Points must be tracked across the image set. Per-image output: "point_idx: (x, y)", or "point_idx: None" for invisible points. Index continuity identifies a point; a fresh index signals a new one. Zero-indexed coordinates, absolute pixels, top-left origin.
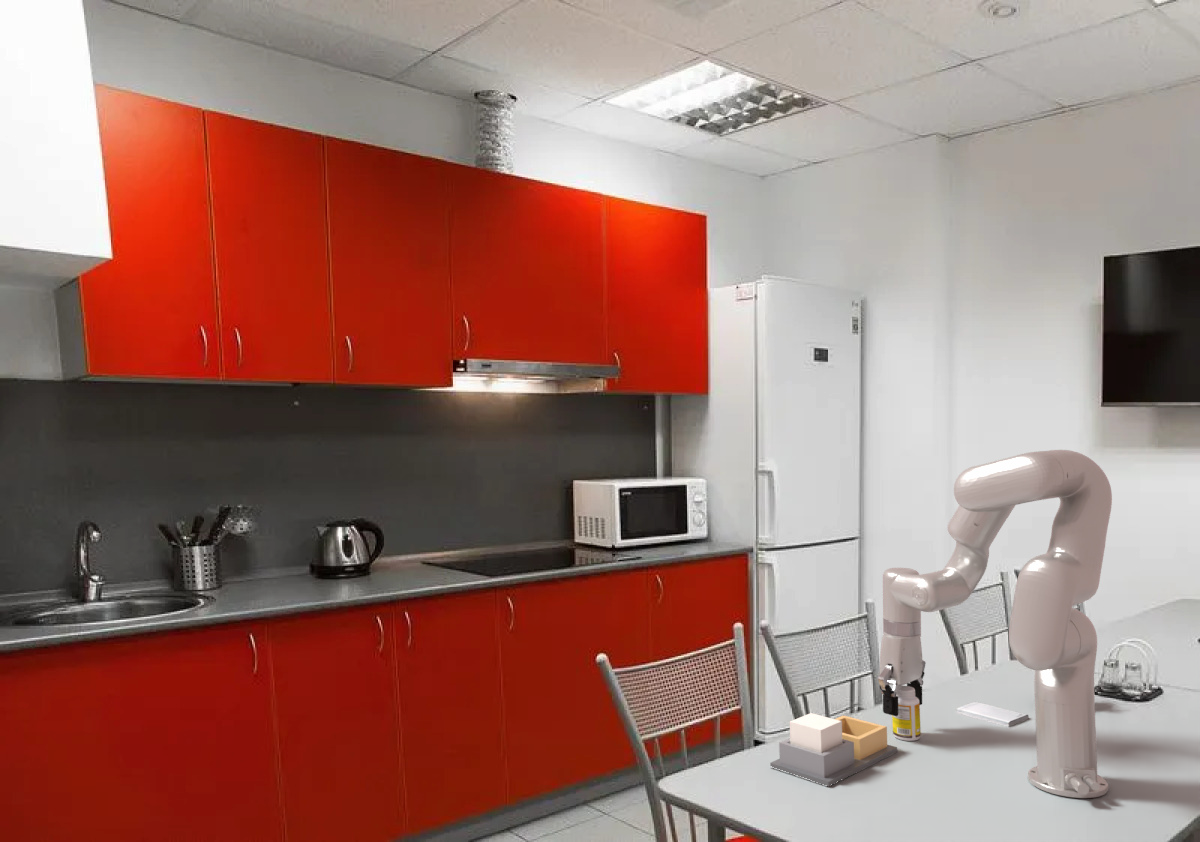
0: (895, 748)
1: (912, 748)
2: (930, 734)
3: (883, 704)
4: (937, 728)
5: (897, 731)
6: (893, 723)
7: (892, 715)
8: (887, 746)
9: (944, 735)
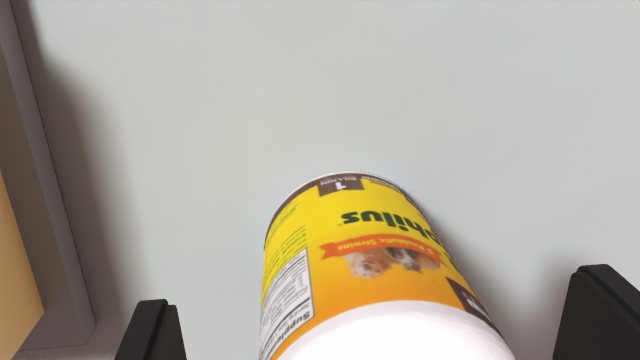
0: (71, 343)
1: (212, 338)
2: (470, 288)
3: (119, 358)
4: (583, 263)
5: (264, 255)
6: (278, 242)
7: (290, 260)
8: (47, 310)
9: None
